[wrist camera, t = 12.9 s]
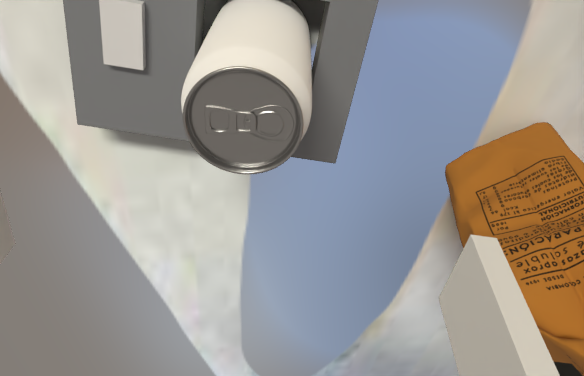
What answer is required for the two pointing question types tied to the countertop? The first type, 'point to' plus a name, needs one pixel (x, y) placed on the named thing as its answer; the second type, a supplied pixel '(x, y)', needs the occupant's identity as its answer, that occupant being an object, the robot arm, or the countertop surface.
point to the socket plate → (179, 58)
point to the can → (250, 87)
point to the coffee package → (531, 225)
